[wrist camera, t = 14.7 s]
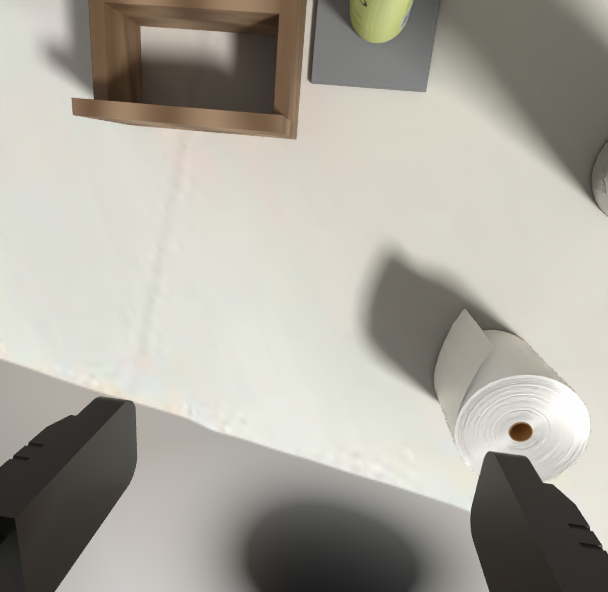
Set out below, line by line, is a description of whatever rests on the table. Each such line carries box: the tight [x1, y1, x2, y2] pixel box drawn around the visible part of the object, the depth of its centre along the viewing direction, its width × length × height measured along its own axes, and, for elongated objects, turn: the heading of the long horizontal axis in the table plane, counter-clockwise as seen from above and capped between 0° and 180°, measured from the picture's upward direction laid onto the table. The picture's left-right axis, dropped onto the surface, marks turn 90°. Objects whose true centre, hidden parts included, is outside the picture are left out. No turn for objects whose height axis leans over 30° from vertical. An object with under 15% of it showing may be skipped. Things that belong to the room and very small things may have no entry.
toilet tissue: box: [434, 308, 591, 482], centre depth 40 cm, size 11×12×10 cm
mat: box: [311, 0, 440, 92], centre depth 36 cm, size 10×12×1 cm
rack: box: [72, 0, 307, 139], centre depth 34 cm, size 16×16×9 cm
